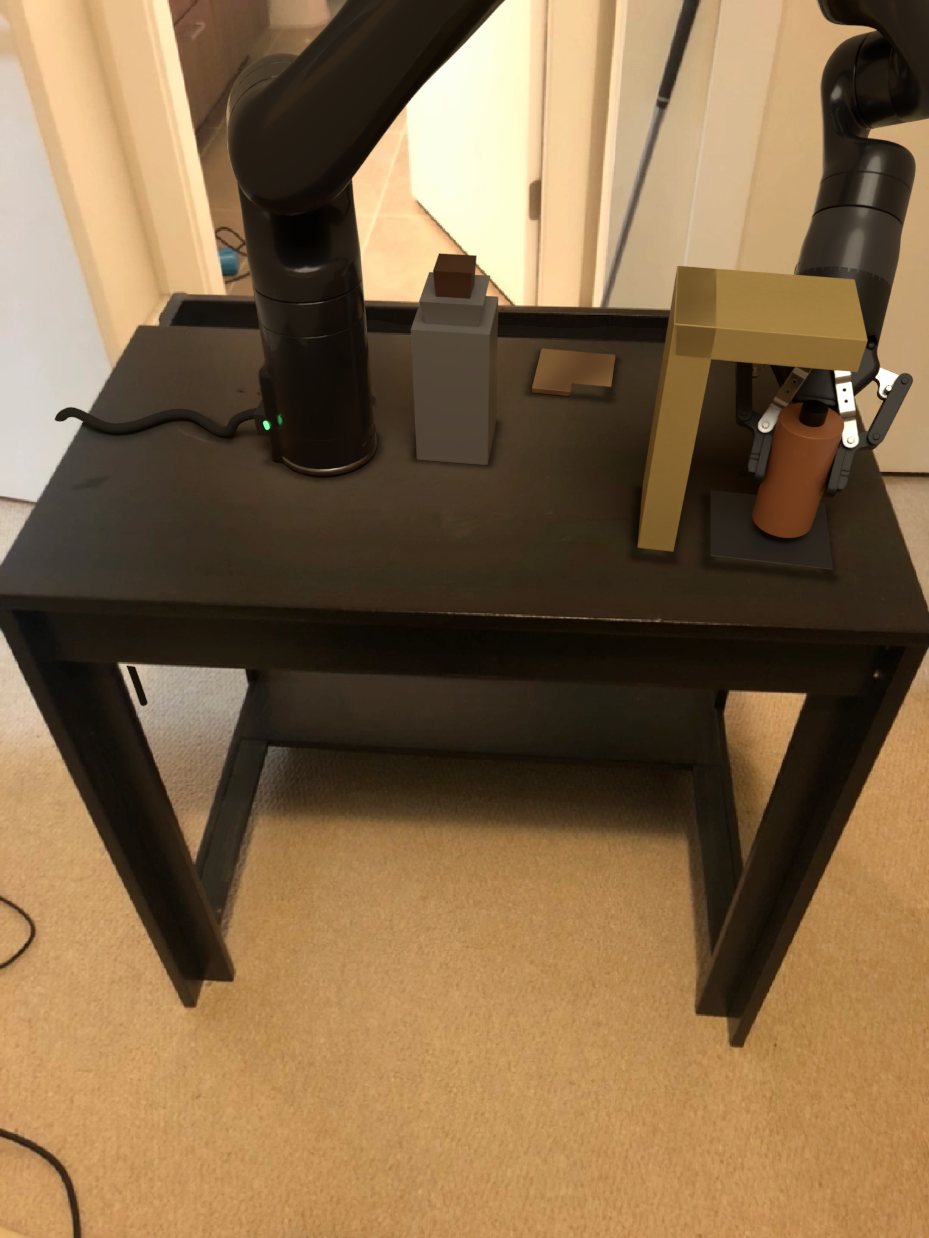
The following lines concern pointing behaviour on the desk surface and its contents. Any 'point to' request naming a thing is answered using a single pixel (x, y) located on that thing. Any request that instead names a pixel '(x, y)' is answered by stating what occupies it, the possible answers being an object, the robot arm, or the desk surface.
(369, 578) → the desk surface
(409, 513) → the desk surface
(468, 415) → the perfume bottle
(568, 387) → the cork mat
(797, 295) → the tan l-shaped post
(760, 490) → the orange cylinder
